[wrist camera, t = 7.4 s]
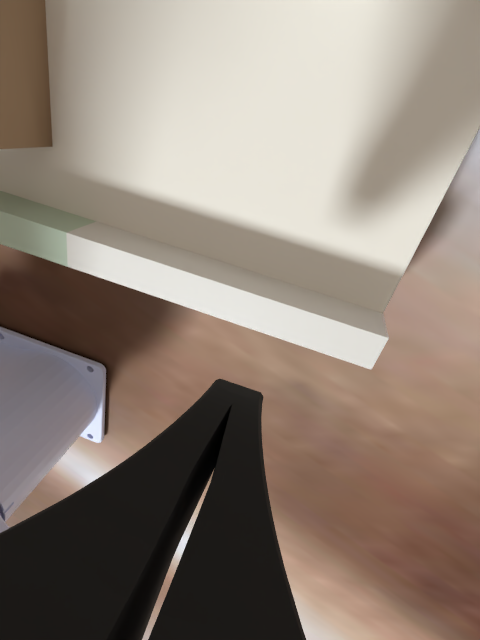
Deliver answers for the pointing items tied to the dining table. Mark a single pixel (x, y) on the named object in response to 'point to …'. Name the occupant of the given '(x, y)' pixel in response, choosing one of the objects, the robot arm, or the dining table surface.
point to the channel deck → (250, 154)
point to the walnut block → (24, 75)
